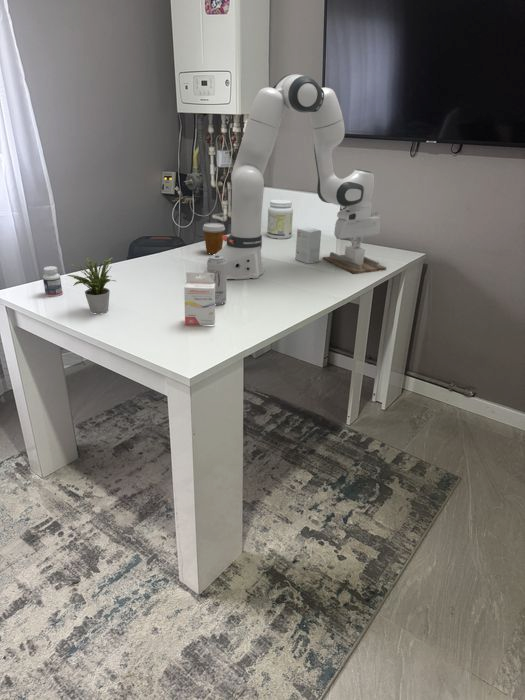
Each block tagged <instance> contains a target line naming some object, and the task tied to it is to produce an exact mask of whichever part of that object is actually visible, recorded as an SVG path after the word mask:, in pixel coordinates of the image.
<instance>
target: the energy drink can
mask: <svg viewBox="0 0 525 700" xmlns="http://www.w3.org/2000/svg"><path fill="white" fill-rule="evenodd" d="M224 258H225V257H224V256H222V255H209V256H208V259H207V260H206V268H207V273H214V275H215V277H214V282H215V304H222V303H224V302H226V301H227V280H226V260H225V259H224ZM224 304H225V303H224ZM222 305H223V304H222Z"/></svg>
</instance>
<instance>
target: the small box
mask: <svg viewBox="0 0 525 700" xmlns="http://www.w3.org/2000/svg"><path fill="white" fill-rule="evenodd" d="M321 239H322V230H320V229H316V228H313V227H310V226H308V227H299V228H297V229H296V241H295V243H296V244H295V246H296V247H295V260H296V261H300V262H302V263H305V264H308V265H309V264H314V263H318V262H319V261H320V251H321V250H320V249H321Z"/></svg>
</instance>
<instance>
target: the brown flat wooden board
mask: <svg viewBox="0 0 525 700" xmlns="http://www.w3.org/2000/svg"><path fill="white" fill-rule="evenodd" d="M329 253H330V254H329V255H328V256H323V257H322V260H323V261H325V262H327V263H329V264H331V265H333V266H335V267H338V268H340V269H342V270H344V271H347V272H348V273H350V274H352V275H357V274H364V273H365V272H366V273H371V271H373V272H379V270H381V271H386V270H387V267H386V266H383V265H382V264H380V262H379V261H376V260H374V259H371V258H368V257H367V256H364V261H363V264H359V263H356V262H354V261H352V260H350V259H347V258H345V254H337V253H335V252H334V251H331V252H329Z"/></svg>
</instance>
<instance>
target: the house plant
mask: <svg viewBox="0 0 525 700" xmlns="http://www.w3.org/2000/svg"><path fill="white" fill-rule="evenodd" d="M113 259H114V257H110V258H109V259H106V260H102V262H101V263H100V265H99V268H98V263H97V260H96V259H94V261H93V263H92V261H91V259H89V257H86V260H87V263H88V264H87V263H85V262H83V261H81V263H82V264H84V265H85V266H86V268H87V269H88V270H89V271H88V270H87V269H86V268H84V266H83V267H82V266H81V265H79V264H74V263H71V265H72V266H75V267H77V268H76V270H77V271H80V272H81V273H83V274H84V276H85V277H82V276H79V275H75V274H67V276H68V277H71V278H73V279H74V280H77V281H76V282H74V283H73V287H74V286H76V285H78V284H79V285H80V284H83V285H84V286H86V287H87V290H85V291H84V294H85V297H86V301H87V304H88V307H89V310H90V313H91V312H92V314H93V313H96V314H95V315H101V313H103V314H106V313H108V312H107V311H109V306H110V304H109V303H110V292H111V291H110V289H109V288H107V287H105V286H106V284H107V283H109V282H112V281H113V282H116V280H115V279H110V278H112V275H108V272H110V270H111V268H112V266H113V265H111V266H110V264H111V260H113ZM93 264H94V265H93ZM102 265H103V266H102ZM109 266H110V267H109ZM108 267H109V269H108ZM101 268H102V269H101ZM79 269H80V270H79ZM107 269H108V270H107ZM100 272H101V273H100ZM109 277H110V278H109Z"/></svg>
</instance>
